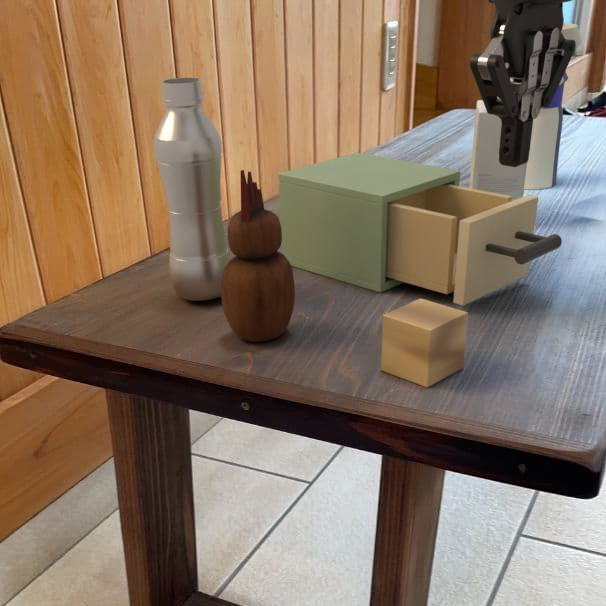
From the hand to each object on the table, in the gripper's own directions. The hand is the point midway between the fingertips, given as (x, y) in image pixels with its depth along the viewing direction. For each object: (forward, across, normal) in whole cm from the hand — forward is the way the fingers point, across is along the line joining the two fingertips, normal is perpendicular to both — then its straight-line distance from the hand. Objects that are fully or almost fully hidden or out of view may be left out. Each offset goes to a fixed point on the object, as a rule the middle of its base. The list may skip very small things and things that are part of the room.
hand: (513, 164), depth 77 cm
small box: (+13, +24, +17) cm, 32 cm away
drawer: (+12, +1, +5) cm, 13 cm away
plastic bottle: (+13, -18, +24) cm, 33 cm away
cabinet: (+13, 0, +18) cm, 22 cm away
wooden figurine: (+13, -22, +12) cm, 28 cm away
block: (+13, -17, -4) cm, 22 cm away
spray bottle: (+13, +42, +23) cm, 49 cm away
